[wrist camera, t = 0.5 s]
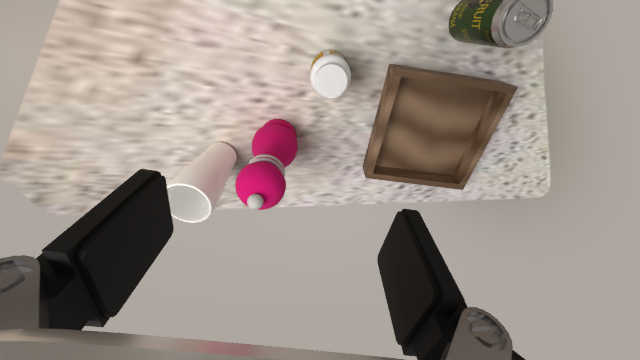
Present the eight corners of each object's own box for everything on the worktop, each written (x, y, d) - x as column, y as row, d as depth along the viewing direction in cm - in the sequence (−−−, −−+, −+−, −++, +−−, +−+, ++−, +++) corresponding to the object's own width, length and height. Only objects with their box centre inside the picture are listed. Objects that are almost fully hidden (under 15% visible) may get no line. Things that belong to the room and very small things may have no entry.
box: (389, 63, 38) (396, 68, 35) (500, 81, 40) (517, 86, 36) (362, 166, 48) (365, 177, 44) (453, 178, 49) (463, 189, 46)
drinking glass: (197, 156, 47) (151, 206, 34) (215, 129, 44) (172, 173, 31) (230, 176, 49) (198, 230, 36) (248, 152, 46) (221, 202, 33)
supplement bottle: (314, 90, 40) (313, 107, 32) (308, 53, 38) (304, 62, 29) (348, 84, 40) (355, 100, 32) (344, 46, 37) (351, 53, 29)
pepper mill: (307, 141, 45) (299, 214, 28) (275, 161, 47) (250, 239, 30) (282, 107, 42) (257, 166, 25) (249, 130, 44) (205, 198, 27)
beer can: (495, 5, 34) (568, -2, 24) (470, 47, 37) (527, 56, 27) (461, -12, 33) (523, -26, 23) (438, 33, 36) (485, 37, 26)
